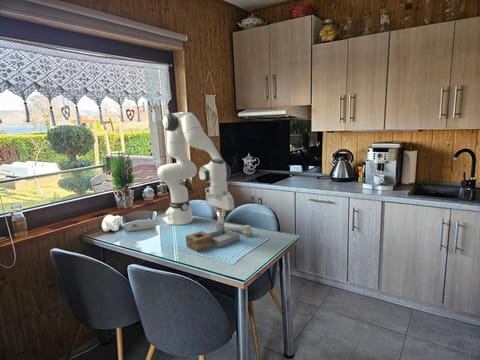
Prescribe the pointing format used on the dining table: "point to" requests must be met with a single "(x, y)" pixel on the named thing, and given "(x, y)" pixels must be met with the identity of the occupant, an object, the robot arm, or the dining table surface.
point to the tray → (224, 237)
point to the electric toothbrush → (239, 229)
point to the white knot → (111, 223)
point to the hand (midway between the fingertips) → (220, 215)
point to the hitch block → (199, 241)
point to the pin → (220, 220)
